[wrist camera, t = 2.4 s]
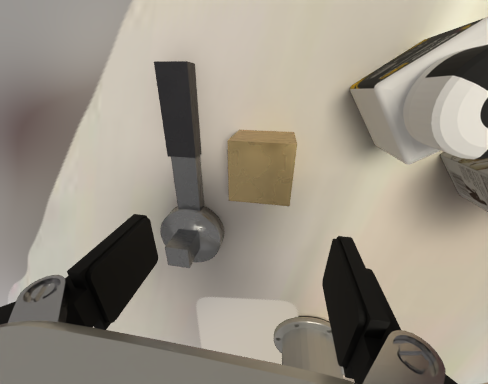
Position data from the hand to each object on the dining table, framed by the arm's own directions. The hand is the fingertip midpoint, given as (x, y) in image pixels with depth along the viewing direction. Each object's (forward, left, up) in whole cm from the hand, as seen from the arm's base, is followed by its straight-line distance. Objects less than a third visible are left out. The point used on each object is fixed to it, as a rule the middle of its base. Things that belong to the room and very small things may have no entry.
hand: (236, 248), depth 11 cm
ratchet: (+10, +4, -17) cm, 20 cm away
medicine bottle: (-13, -7, -18) cm, 23 cm away
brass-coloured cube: (0, 0, -17) cm, 17 cm away
